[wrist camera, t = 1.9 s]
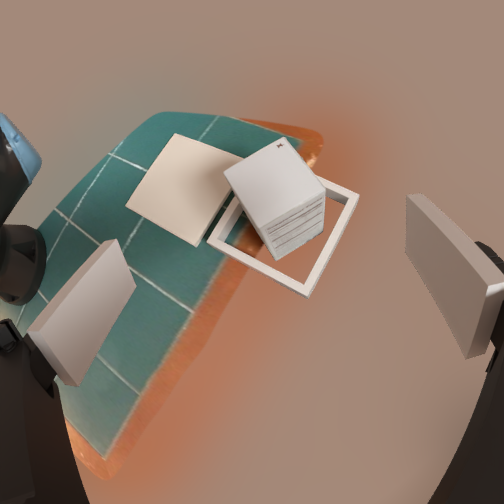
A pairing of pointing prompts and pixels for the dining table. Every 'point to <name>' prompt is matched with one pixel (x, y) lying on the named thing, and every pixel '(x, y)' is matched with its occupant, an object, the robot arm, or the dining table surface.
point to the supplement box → (279, 196)
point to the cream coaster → (184, 188)
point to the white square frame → (304, 290)
